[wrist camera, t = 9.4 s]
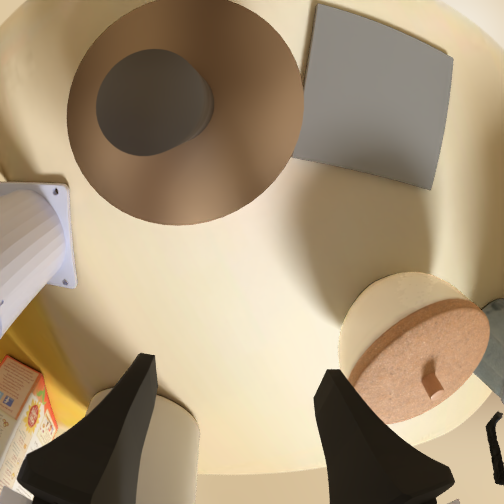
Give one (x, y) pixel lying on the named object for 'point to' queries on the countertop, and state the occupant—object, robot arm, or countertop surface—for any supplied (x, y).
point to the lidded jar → (410, 344)
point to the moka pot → (494, 377)
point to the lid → (185, 110)
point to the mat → (373, 99)
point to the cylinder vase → (166, 454)
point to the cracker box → (22, 419)
